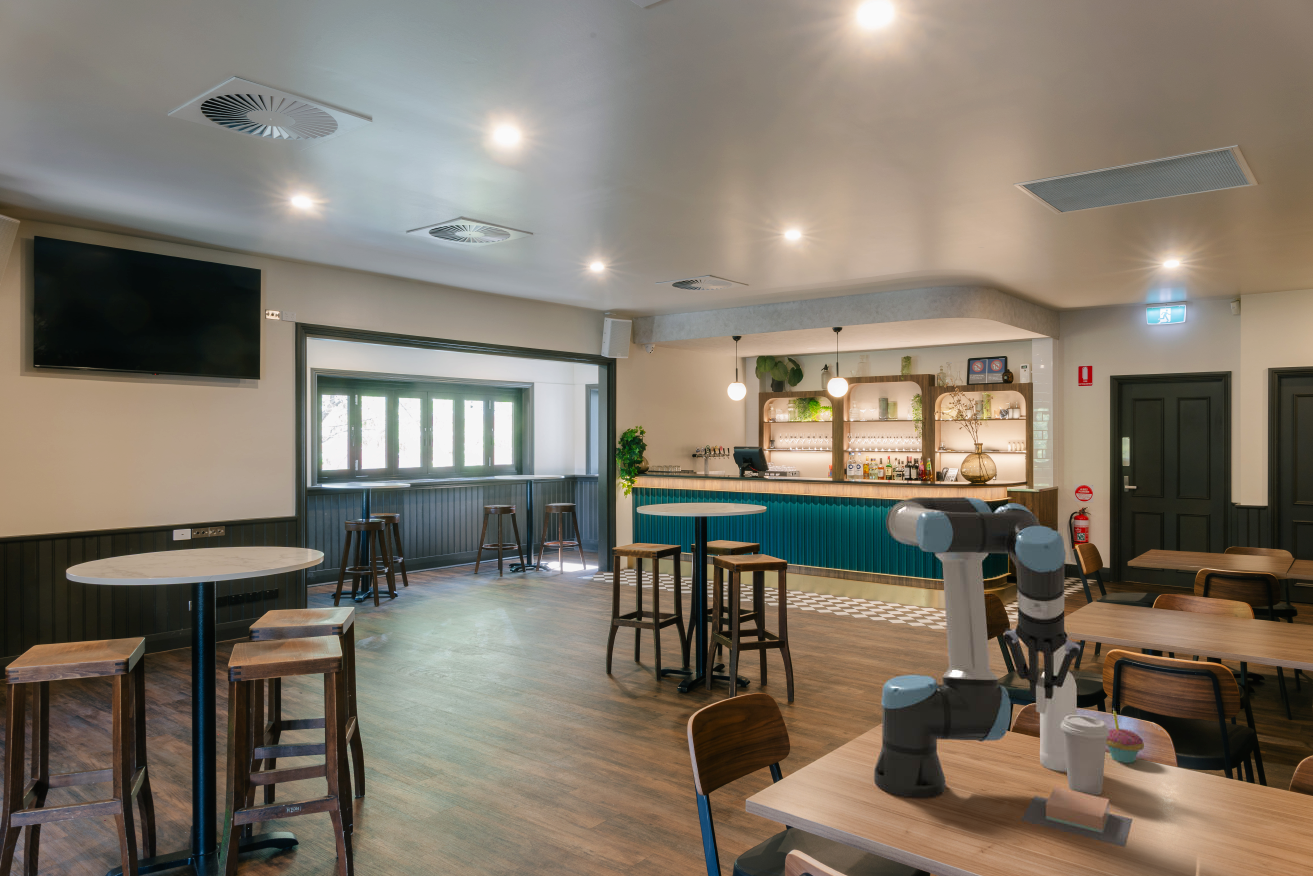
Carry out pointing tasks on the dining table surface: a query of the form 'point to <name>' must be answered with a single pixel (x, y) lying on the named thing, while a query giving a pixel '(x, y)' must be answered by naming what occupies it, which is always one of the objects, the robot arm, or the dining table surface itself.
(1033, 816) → the mat
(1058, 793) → the tile
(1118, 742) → the cupcake
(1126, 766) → the dining table surface
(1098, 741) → the coffee cup
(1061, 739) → the bottle
